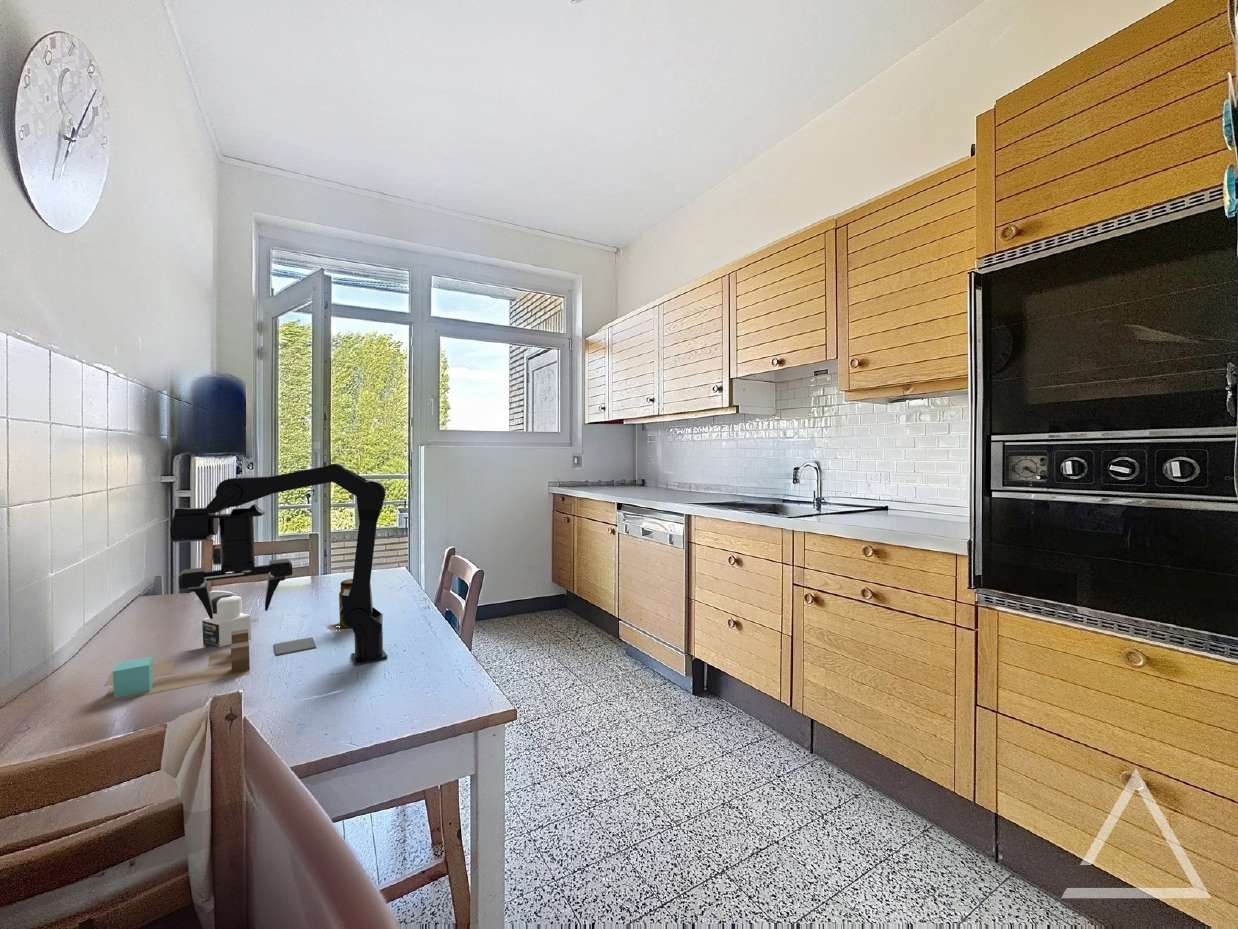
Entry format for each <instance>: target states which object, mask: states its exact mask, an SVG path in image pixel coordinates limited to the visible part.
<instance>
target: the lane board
mask: <svg viewBox="0 0 1238 929" xmlns="http://www.w3.org/2000/svg"><path fill="white" fill-rule="evenodd" d="M175 662H176V660H172V661H166V662H160V663H156V664H155V663H153V678H154V677H158V676H159V677H160V676H164V675H169V674H172V673H173V669H174V666H175ZM107 686H113V671H111V674H110V675H109V677H108V679H107V681H106V682H105V684H104V687H107Z"/></svg>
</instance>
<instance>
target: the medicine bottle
mask: <svg viewBox="0 0 1238 929" xmlns="http://www.w3.org/2000/svg"><path fill="white" fill-rule="evenodd" d="M242 598H243V597H242V596H241V595H239V594H224V595H219V596H216V597H214V598H212V599H211V603H212V609H213V619H210V617H209V616H208V617H205V618H203V619H201V620H202V647H203V649H205V648H210V647H215V648H222V647H225V646H229V645H231V644H232V637H231V634H232V631H237V630H243V629H248V641H252V620H251V619H252V617H251V615H250V614H247V613H243V603H242V602H243V601H242Z"/></svg>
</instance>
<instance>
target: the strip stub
mask: <svg viewBox="0 0 1238 929" xmlns="http://www.w3.org/2000/svg"><path fill="white" fill-rule="evenodd" d="M231 637H232V644H237V643H242V642H248V641H249V640H248V629H243V630H237V631H232V634H231ZM208 660H209V662H208V667H210V666H211V667H212V666H216V665H223V664H227V663H231V650H227V651H222V652H217V653H211V654H210V655H209V659H208Z"/></svg>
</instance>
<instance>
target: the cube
mask: <svg viewBox="0 0 1238 929" xmlns="http://www.w3.org/2000/svg"><path fill="white" fill-rule="evenodd" d="M153 665H154V663H153V656H150V657H149V656H148V657H143V658H138V659H133V660H132V659H131V660H127V661H121V662H117V663H116V665H115V667H114V669H113V670H112V672H113V685H112V688H113V691H114V699H115V698H120V697H124V696H129V695H134V694H139V693H144V692H149V691H150V690H151V687H152V684H153V680H154V677H153Z"/></svg>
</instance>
